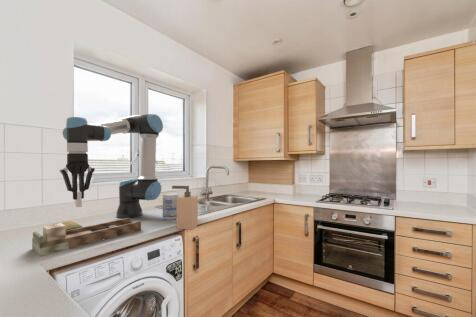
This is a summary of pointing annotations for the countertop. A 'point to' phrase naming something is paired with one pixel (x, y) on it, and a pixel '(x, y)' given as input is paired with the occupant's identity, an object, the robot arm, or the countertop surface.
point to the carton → (71, 225)
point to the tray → (84, 236)
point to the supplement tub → (170, 206)
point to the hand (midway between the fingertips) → (78, 206)
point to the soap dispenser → (186, 209)
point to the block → (54, 232)
